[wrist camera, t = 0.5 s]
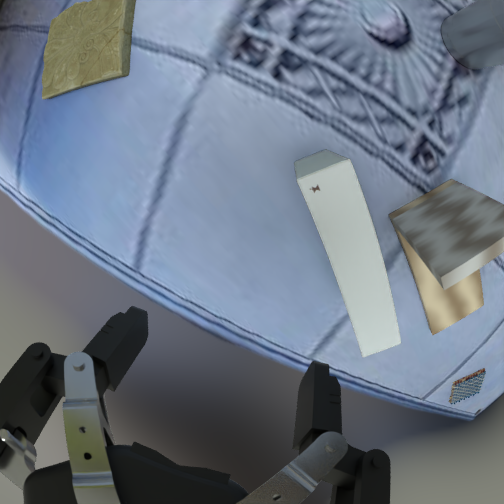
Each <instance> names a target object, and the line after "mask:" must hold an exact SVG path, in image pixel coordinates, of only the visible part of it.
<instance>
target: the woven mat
mask: <svg viewBox="0 0 504 504" xmlns="http://www.w3.org/2000/svg"><path fill="white" fill-rule="evenodd" d="M485 372H486V371H485V368H484V369H481V370H479V371H478V372H475V373H473V374H471V375H469V376H466V377H464V378H463V379H460V380H457V381H455V382H453V383H455V384H454V385H453V386H452V388H454V389H452V390H451V391H452V394H451V395H452V396H450V398H449V399H451V400H449V402H450V403H451V404H452V403H453V402H454V404H455V402H457V401H458V400H459V402H460V400H462V399H463V398H464V400H465V397H466V398H467V397H468V398H469V397H470V396H472V395H473V396H474V394H476V393H477V391H478V393H479V391H480V387H481V386H482V383H483V381H484V377H485V374H486V373H485ZM475 374H476V375H475ZM472 375H473V376H472ZM459 381H460V382H459ZM457 382H458V383H457Z"/></svg>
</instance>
